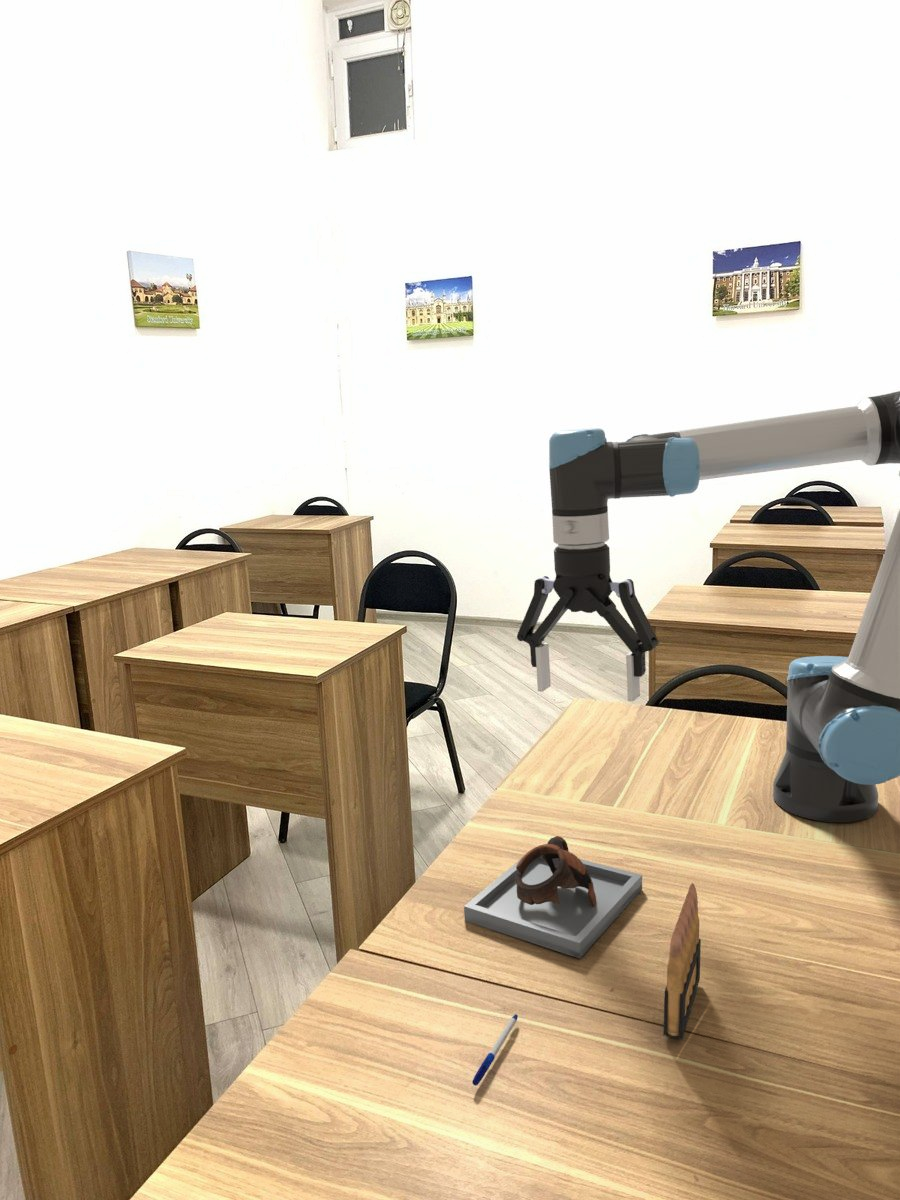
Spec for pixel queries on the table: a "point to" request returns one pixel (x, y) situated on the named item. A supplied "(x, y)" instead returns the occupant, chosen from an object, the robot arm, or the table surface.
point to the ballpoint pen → (494, 1051)
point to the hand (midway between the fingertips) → (587, 693)
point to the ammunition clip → (682, 968)
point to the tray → (555, 907)
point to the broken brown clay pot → (564, 871)
